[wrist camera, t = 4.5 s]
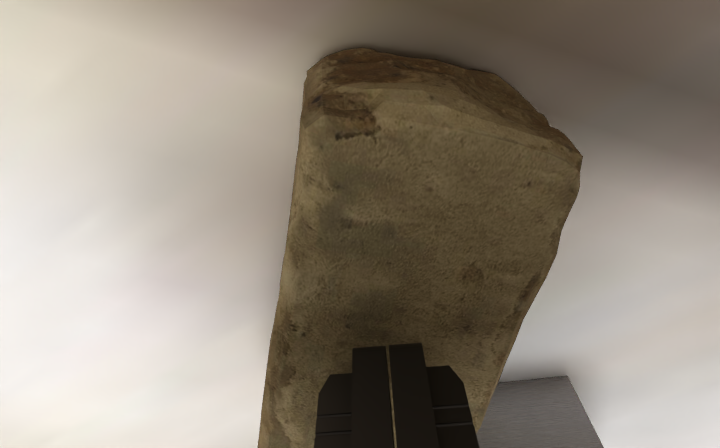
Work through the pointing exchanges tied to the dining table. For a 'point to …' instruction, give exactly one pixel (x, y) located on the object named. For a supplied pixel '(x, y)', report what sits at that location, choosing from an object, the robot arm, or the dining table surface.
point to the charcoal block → (536, 416)
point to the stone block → (411, 227)
